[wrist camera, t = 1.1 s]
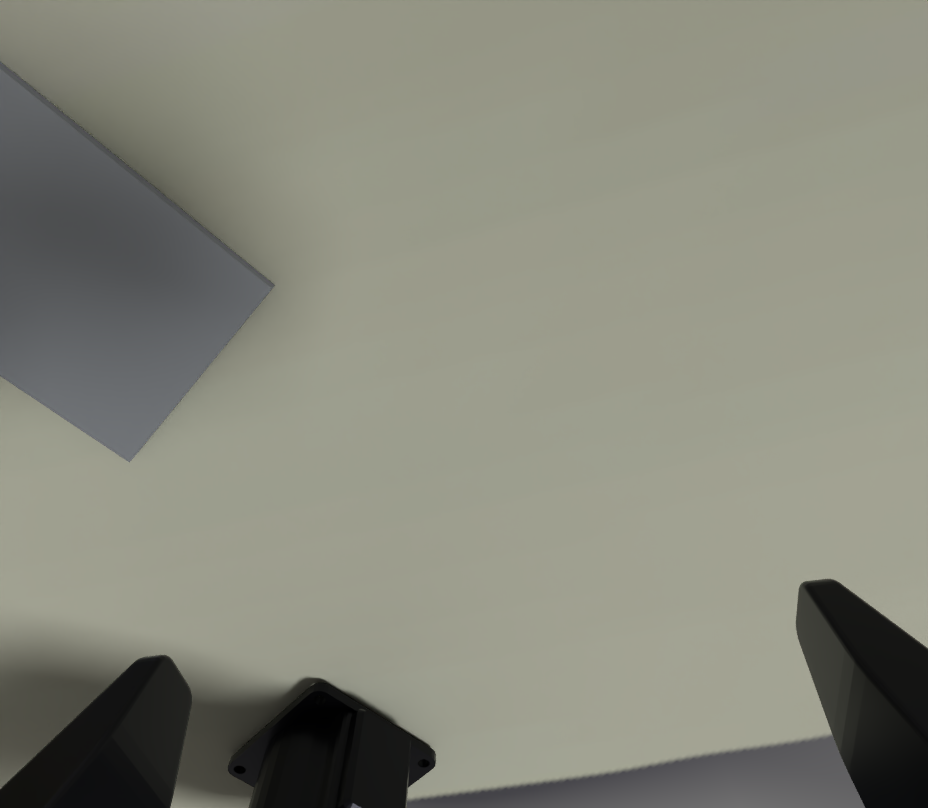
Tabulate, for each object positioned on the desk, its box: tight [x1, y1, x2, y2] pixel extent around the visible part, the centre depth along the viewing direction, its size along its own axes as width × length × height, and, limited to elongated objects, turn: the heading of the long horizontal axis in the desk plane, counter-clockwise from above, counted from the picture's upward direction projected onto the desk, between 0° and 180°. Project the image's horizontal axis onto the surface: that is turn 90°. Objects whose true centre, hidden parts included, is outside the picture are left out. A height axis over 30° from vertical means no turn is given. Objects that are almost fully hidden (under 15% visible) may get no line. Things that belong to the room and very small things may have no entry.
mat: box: [0, 62, 275, 462], centre depth 20 cm, size 8×12×1 cm, turn 47°
